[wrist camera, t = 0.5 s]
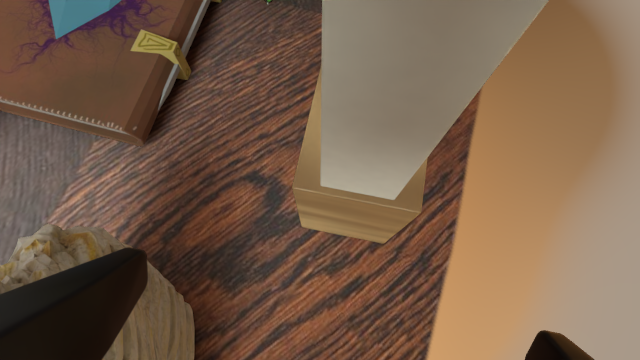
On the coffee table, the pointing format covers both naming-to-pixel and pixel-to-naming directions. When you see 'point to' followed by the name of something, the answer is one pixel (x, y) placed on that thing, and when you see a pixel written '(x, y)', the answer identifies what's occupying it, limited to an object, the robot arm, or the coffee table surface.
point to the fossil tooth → (148, 314)
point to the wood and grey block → (348, 194)
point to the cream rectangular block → (404, 81)
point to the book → (95, 61)
